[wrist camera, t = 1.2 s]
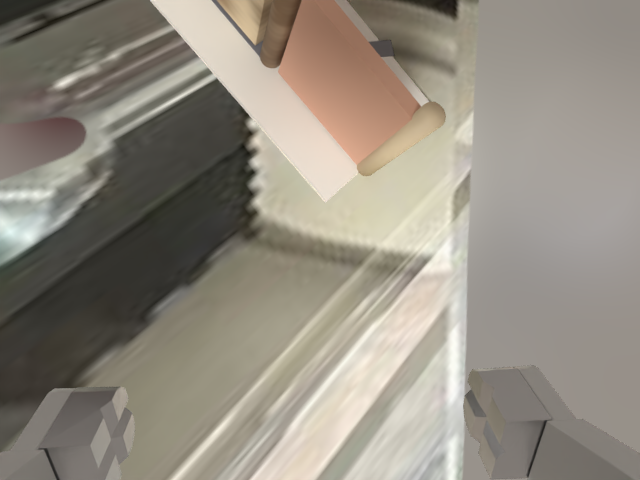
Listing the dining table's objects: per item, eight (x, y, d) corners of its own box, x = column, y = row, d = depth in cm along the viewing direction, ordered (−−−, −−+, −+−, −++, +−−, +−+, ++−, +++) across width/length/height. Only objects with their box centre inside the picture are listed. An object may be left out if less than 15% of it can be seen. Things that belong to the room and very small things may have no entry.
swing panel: (275, 74, 38) (305, -21, 27) (290, 63, 39) (326, -35, 27) (365, 180, 39) (433, 134, 28) (378, 168, 40) (450, 117, 28)
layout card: (125, -28, 37) (124, -32, 36) (264, -111, 41) (265, -115, 40) (325, 202, 39) (326, 201, 38) (437, 102, 43) (439, 100, 43)
